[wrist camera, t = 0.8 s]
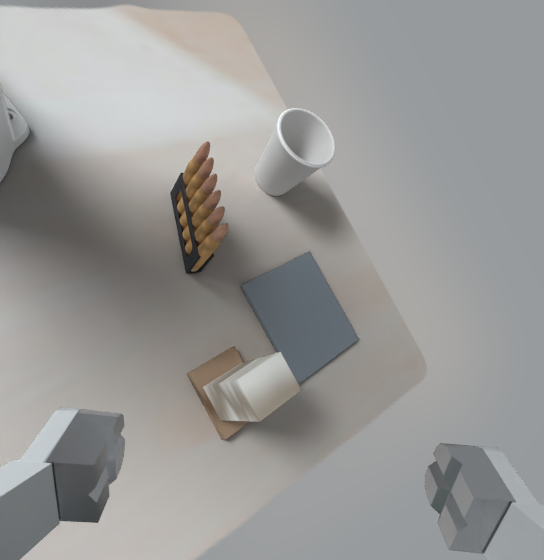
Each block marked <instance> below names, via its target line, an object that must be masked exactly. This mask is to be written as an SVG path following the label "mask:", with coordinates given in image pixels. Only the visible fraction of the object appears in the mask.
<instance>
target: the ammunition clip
mask: <svg viewBox="0 0 544 560" xmlns="http://www.w3.org/2000/svg"><path fill="white" fill-rule="evenodd" d="M209 151H210V143H209V142H206V143H204V144H203V145H202V146H201V147H200V148H199V150H198V151H197V153H196V154H195V156H194V157H193V159H192V160H191V161H190V162H189V164H188V166H187V168H186V170H185V172H184V173H181V174H180V176H179V177H178V179H177V181H176V183H175V185H174V187H173V189H172V191H171V193H170V194H171V199H172V204H173V209H174V214H175V219H176V224H177V230H178V235H179V240H180V245H181V250H182V255H183V260H184V265H185V270H186V273H187V274H188V273H198V272H201V271H202V270H203V269H204V267H205V266H206V265H207V264H208V262H209V261H210V260H211V259H212V258H213V256H214V254H213V253H214V251H215V250H216V249H217V248H218V247H219V245H220V242H221V241H222V239H223V238H224V237H225V235H226V233H227V231H228V224H227V223H225V224H222V225H220V226H218V224H219V222H220V221H221V219H222V217H223V215H224V211H225V209H224V207H219V208H217V209H216V210H214V209H215V208H216V206H217V204H218V202H219V200H220V196H221V191H220V190H217V191H215V192H213V193H212V191H213V190H214V188H215V186H216V183H217V174H213V175H211V176H210V177H209V175H210V173H211V171H212V168H213V163H214V160H213V158H209V159H207V157H208V154H209ZM206 159H207V160H206ZM217 226H218V227H217Z"/></svg>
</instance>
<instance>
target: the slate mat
mask: <svg viewBox="0 0 544 560" xmlns="http://www.w3.org/2000/svg"><path fill="white" fill-rule="evenodd" d="M241 288H242V290H243V292H244V294H245V296H246V297H247V299H248V301H249V303H250V305H251V306H252V308H253V310H254V312H255V314H256V316H257V317H258V319H259V321H260V323H261V325H262V326H263V328H264V330H265V332H266V334H267V336H268V337H269V339H270V341H271V343H272V345H273V346H274V348H275V350H276V352H277V353H278V352H281V354H282V356H283V357H284V359H285V361H286V363H287V365H288V366H289V368H290V370H291V372H292V374H293V376H294V377H295V379H296V381H297V383H298V384H299V383H301V382H302V381H303V380H305V379H306V378H307V377H309V376H310V375H311V374H313V373H314V372H315V371H317V370H318V369H319V368H321V367H322V366H324V365H325V364H326V363H328V362H329V361H330V360H332V359H333V358H334V357H336V356H337V355H338V354H340V353H341V352H342V351H344V350H345V349H346V348H348V347H349V346H350V345H352V344H353V343H354V342H356V341H357V340H358V339H359V338H358V336H357V334H356V332H355V331H354V329H353V327H352V325H351V323H350V322H349V320H348V318H347V316H346V315H345V313H344V311H343V309H342V307H341V306H340V304H339V302H338V300H337V299H336V297H335V295H334V293H333V291H332V290H331V288H330V286H329V284H328V283H327V281H326V279H325V277H324V275H323V274H322V272H321V270H320V268H319V267H318V265H317V263H316V261H315V259H314V258H313V256H312V254H311V252H310V251H309V252H307V253H305V254H303V255H301V256H299V257H297V258H295V259H293V260H291V261H289V262H287V263H285V264H283V265H281V266H279V267H277V268H275V269H273V270H271V271H269V272H267V273H265V274H263V275H261V276H259V277H257V278H255V279H253V280H251V281H249V282H247V283H245V284H243V285H242V286H241Z"/></svg>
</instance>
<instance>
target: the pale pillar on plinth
mask: <svg viewBox="0 0 544 560" xmlns="http://www.w3.org/2000/svg"><path fill="white" fill-rule="evenodd" d="M187 375H188V377H189V379H190V381H191V383H192V385H193V387H194V388H195V390H196V392H197V394H198V396H199V398H200V400H201V402H202V403H203V405H204V407H205V409H206V411H207V413H208V415H209V416H210V418H211V420H212V422H213V424H214V426H215V428H216V430H217V431H218V433H219V435H220V437H221V439H223V440H226V439H227V438H229V437H230V436H231V435H233V434H234V433H235V432H237V431H238V430H239V429H241V428H242V427H244V426H245V425H246V424H248V423H249V422H250V421H253V422H260V421H261V420H263V419H264V418H265V417H267V416H268V415H269V414H271V413H272V412H273V411H275V410H276V409H277V408H279V407H280V406H281V405H282V404H284V403H285V402H286V401H288V400H289V399H290V398H292V397H293V396H294V395H296V394H297V393H298V392H300V391H301V388H300V386H299V385H298V383H297V381H296V379H295V377H294V376H293V374H292V372H291V370H290V368H289V366H288V365H287V363H286V361H285V359H284V357H283V356H282V354H281V352H278V353H274V354H271V355H268V356H264V357H261V358H258V359H254V360H251V361H247V362H243V361H242V359H241V357H240V355H239V353H238V351H237V350H236V348H235V346H234V347H232V348H230V349H228V350H226V351H225V352H223V353H221V354H220V355H218V356H216V357H215V358H213V359H211V360H210V361H208V362H206V363H205V364H203V365H201V366H200V367H198V368H196V369H195V370H193V371H191V372H190V373H188V374H187Z"/></svg>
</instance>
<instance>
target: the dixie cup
mask: <svg viewBox="0 0 544 560" xmlns="http://www.w3.org/2000/svg"><path fill="white" fill-rule="evenodd" d="M334 155H335V142H334V138H333V136H332V133H331V132H330V130H329V128H328V127H327V125H326V124H325V123H324V122H323V121H322V120H321V119H320V118H319V117H318V116H316V115H315V114H313V113H312V112H309V111H307V110H304V109H300V108H291V109H288V110H286V111H284V112H283V113H282V114H281V115H280V117H279V119H278V122H277V126H276V128H275V130H274V132H273V134H272V136H271V138H270V140H269V142H268V144H267V146H266V148H265V150H264V152H263V154H262V156H261V158H260V160H259V162H258V163H257V165H256V167H255V170H254V177H255V180H256V182H257V184H258V186H259V187H260V188H261V189H262V190H263V191H264V192H265V193H267V194H269V195H272V196H280V195H283V194H284V193H286V192H287V191H289V190H290V189H292V188H293V187H294V186H296V185H297V184H299V183H300V182H301V181H303V180H304V179H306V178H307V177H308V176H310V175H311V174H313V173H314V172H315V171H317V170H318V169H320V168H322V167H325V166H327V165H328V164H329V163H330V162H331V161H332V160H333V158H334Z"/></svg>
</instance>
